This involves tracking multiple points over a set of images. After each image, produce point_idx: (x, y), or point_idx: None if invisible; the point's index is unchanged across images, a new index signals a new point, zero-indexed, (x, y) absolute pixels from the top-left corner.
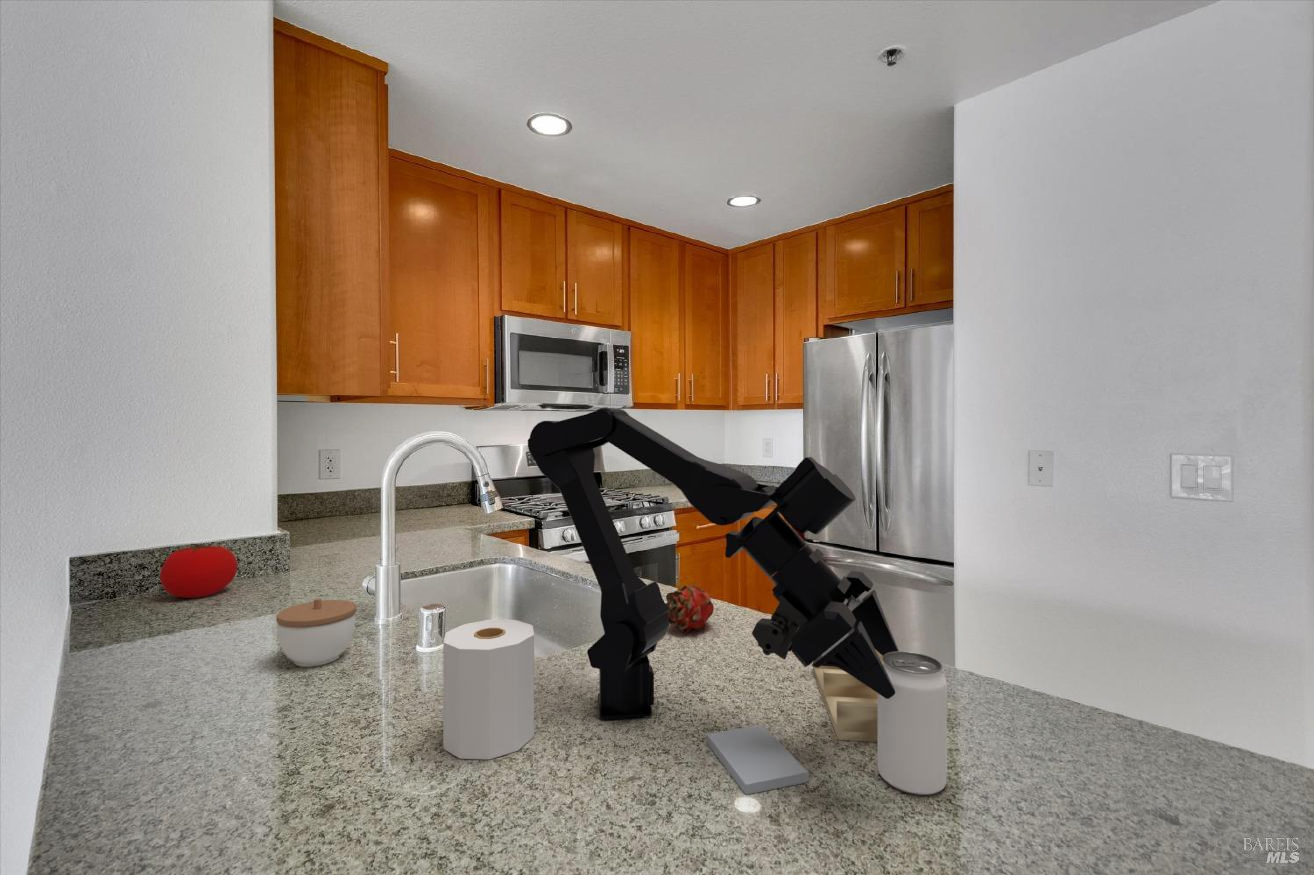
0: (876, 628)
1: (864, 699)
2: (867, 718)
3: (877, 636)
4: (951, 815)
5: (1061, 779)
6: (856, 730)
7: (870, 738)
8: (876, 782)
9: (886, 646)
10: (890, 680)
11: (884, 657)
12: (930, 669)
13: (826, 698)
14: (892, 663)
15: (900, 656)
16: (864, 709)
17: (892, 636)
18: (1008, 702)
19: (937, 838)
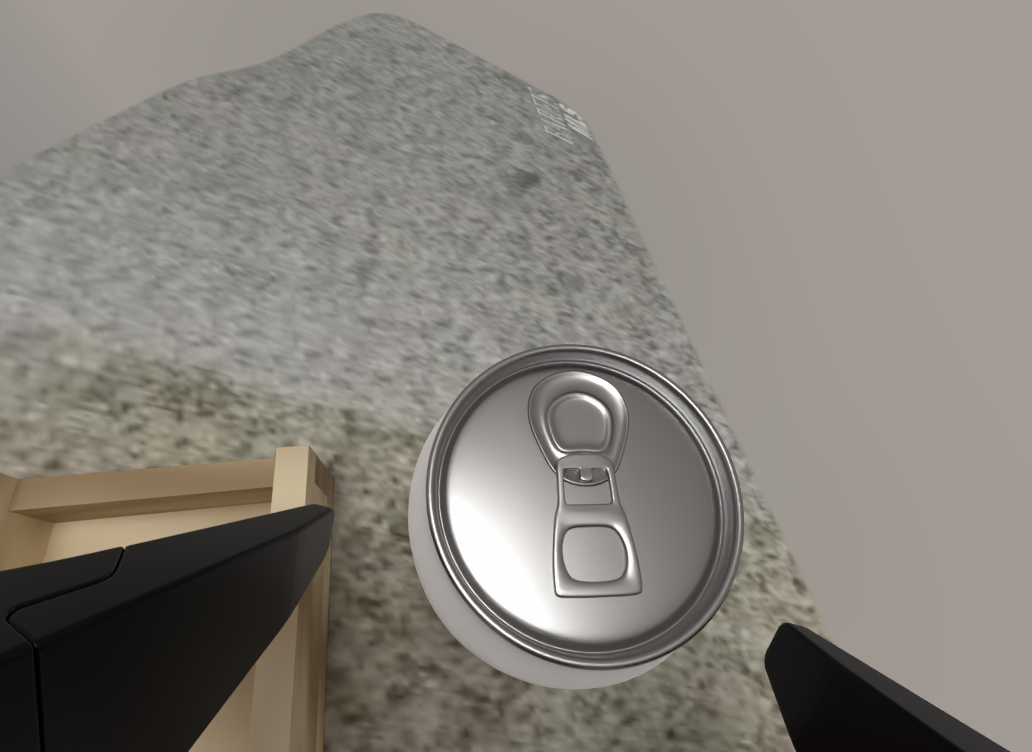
0: (154, 683)
1: None
2: (305, 678)
3: (201, 666)
4: None
5: (444, 262)
6: (316, 719)
7: (323, 659)
8: None
9: (274, 593)
10: (825, 651)
11: (552, 649)
12: (625, 407)
13: None
14: (600, 601)
15: (471, 528)
16: (296, 696)
17: (226, 534)
18: (85, 222)
19: None
